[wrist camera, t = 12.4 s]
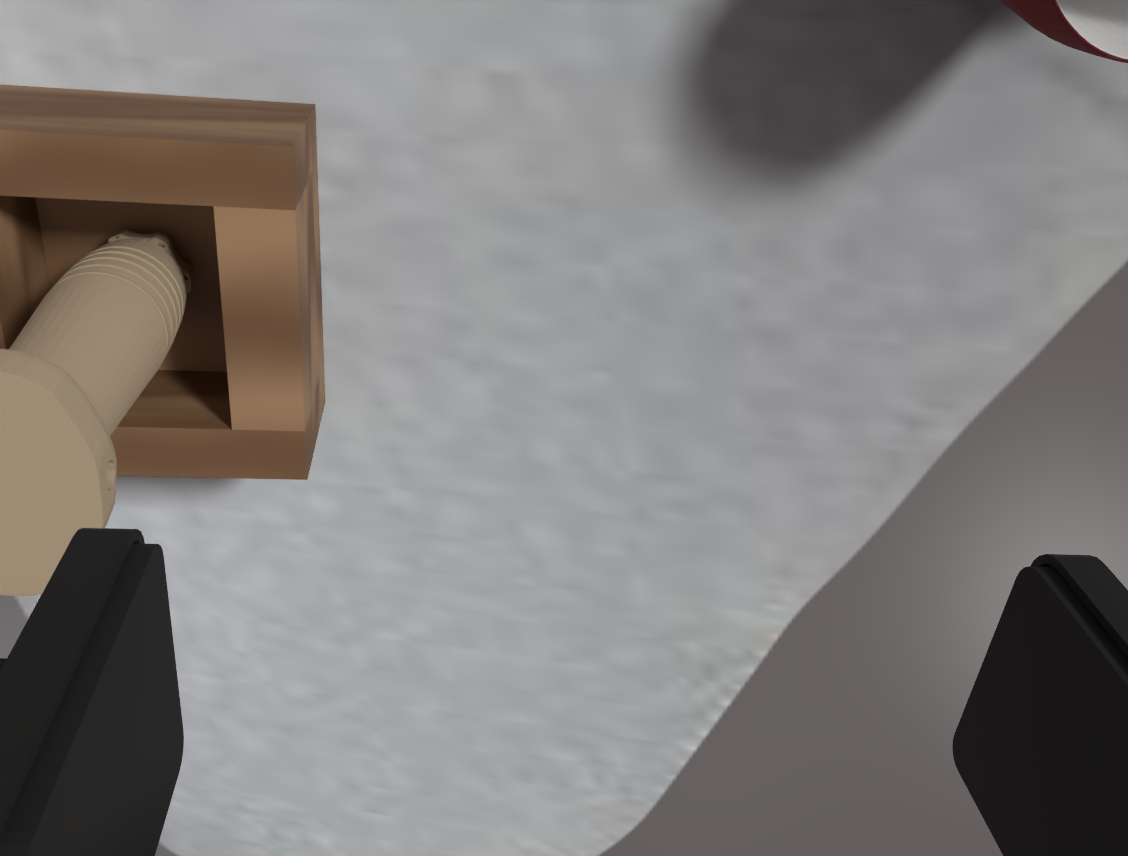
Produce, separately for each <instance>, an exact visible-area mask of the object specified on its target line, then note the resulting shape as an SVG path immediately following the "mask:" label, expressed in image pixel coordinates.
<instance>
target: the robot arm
mask: <svg viewBox="0 0 1128 856" xmlns="http://www.w3.org/2000/svg"><path fill="white" fill-rule="evenodd" d="M183 741H184V736H183V724H182V716H181V707H180V698H179V689H178V680H177V671H176V662H175V653H174V645H173V636H172V627H171V618H170V609H169V600H168V591H167V582H166V574H165V565H164V556H163V551H162V548H161V546H160V545H159V544H145V543H144V537H143V535H142V533H141V531H139V530H138V529H106V528H81V529H79V530H77V532H76V533H75V534H74V536H73V537H72V539H71V541H70V543H69V545H68V547H67V549H66V550H65V552H64V554H63V556H62V558H61V560H60V562H59V563H58V565H57V567H56V569H55V571H54V573H53V575H52V576H51V578H50V580H49V582H48V584H47V586H46V588H45V589H44V591H43V593H42V595H41V597H40V599H39V601H38V602H37V604H36V606H35V608H34V610H33V612H32V613H31V615H30V617H29V619H28V621H27V623H26V625H25V627H24V628H23V630H22V632H21V634H20V636H19V638H18V640H17V641H16V643H15V645H14V647H13V649H12V651H11V653H10V654H9V656H8V658H7V659H0V856H155V853H156V849H157V846H158V843H159V839H160V836H161V832H162V829H163V825H164V822H165V819H166V815H167V812H168V808H169V805H170V801H171V798H172V795H173V791H174V788H175V784H176V781H177V778H178V774H179V770H180V766H181V761H182V755H183ZM953 756H954V760H955V764H956V767H957V769H958V771H959V773H960V775H961V777H962V779H963V781H964V782H965V785H966V786H967V788H968V790H969V792H970V793H971V796H972V798H973V800H974V802H975V803H976V805H977V807H978V809H979V811H980V813H981V815H982V816H983V818H984V820H985V822H986V824H987V826H988V828H989V829H990V832H991V833H992V835H993V837H994V839H995V841H996V843H997V844H998V847H999V848H1000V850H1001V852H1002V854H1003V856H1128V590H1127V589H1126V588H1125V587H1124V586H1123V584H1122V583H1121V582H1120V581H1119V580H1118V579H1117V578H1116V576H1115V575H1114V574H1113V573H1112V572H1111V571H1110V570H1109V569H1108V567H1107V566H1106V565H1105V564H1104V563H1103V562H1102V561H1101V560H1099V559H1098V558H1097V557H1093V556H1090V555H1055V554H1045V555H1041V556H1039V557H1037V558H1036V559H1035V560H1034V561H1033V563H1032V564H1031V566H1030V567H1025V568H1023V569H1022V570H1021V571H1020V572H1019V574H1018V576H1017V577H1016V580H1015V582H1014V585H1013V588H1012V590H1011V593H1010V595H1009V598H1008V600H1007V603H1006V605H1005V608H1004V610H1003V613H1002V615H1001V618H1000V621H999V623H998V625H997V628H996V631H995V633H994V636H993V638H992V641H991V643H990V646H989V648H988V651H987V654H986V656H985V659H984V661H983V663H982V666H981V669H980V671H979V674H978V676H977V679H976V681H975V684H974V686H973V689H972V691H971V694H970V697H969V699H968V701H967V704H966V707H965V709H964V712H963V714H962V717H961V719H960V722H959V724H958V727H957V729H956V732H955V735H954V739H953Z"/></svg>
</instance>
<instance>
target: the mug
mask: <svg viewBox="0 0 1128 856" xmlns="http://www.w3.org/2000/svg"><path fill="white" fill-rule="evenodd" d="M1001 1H1002V2H1003V3H1004V4H1005V5H1007V6H1008V7H1009V8H1010V9H1011V10H1013V11H1014V12H1015V13H1016V14H1017V15H1019V16H1020V17H1021V18H1022V19H1024V20H1025V21H1026V22H1027V23H1028V24H1030V25H1031V26H1032V27H1034V28H1035V29H1036V30H1038V31H1040V32H1041V33H1043V34H1044V35H1046V36H1048V37H1049V38H1051V39H1053V40H1055V41H1057V42H1060V43H1062V44H1064V45H1066V46H1068V47H1071V48H1074V49H1077V50H1080V51H1084V52H1087V53H1090V54H1093V55H1096V56H1100V57H1104V58H1108V59H1112V60H1115V61H1120V62H1125V63H1128V0H1001Z"/></svg>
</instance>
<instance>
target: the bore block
mask: <svg viewBox="0 0 1128 856" xmlns="http://www.w3.org/2000/svg"><path fill="white" fill-rule="evenodd" d="M126 229H131V230H133V231H134V232H137V233H142V234H152V233H156V232H158V231H161V232H163V233H166V234H167V235H169V236H171V238H172V243H173V245H174V248H175V249H176V251H177V253H178V254H179V255H180V257H181V258H182V259H183V260H184V261H185V262H187V263H189V264H191V266H192V268H193V284H192V287H191V290H190V293H187V299H186V305H185V310H184V314H183V317H182V321H181V323H180V326H179V328H178V331H177V333H176V336H175V338H174V341H173V343H172V345H171V348H170V349H169V351H168V353H167V355H166V357H165V359H164V361H163V362H162V364H161V366H160V368H159V369H158V371H157V372H156V373H155V375H154V376H153V378H152V379H151V380H150V382H149V383H148V384H147V386H146V387H145V388H144V390H143V391H142V393H141V394H140V395H139V397H138V398H137V399H136V401H135V402H134V404H133V405H132V406H131V408H130V409H129V410H128V412H127V413H126V414H125V416H124V417H123V419H122V420H121V422H120V423H119V424H118V426H117V427H116V429H115V430H114V432H113V433H112V435H111V436H110V438H111V440H112V443H113V446H114V450H115V454H116V458H117V475H116V476H151V477H202V478H252V479H303V480H307V478H308V474H309V470H310V465H311V461H312V457H313V452H314V448H315V444H316V439H317V435H318V431H319V426H320V422H321V418H322V413H323V409H324V405H325V385H324V355H323V325H322V295H321V265H320V235H319V205H318V174H317V144H316V114H315V104H299V103H283V102H267V101H251V100H235V99H219V98H203V97H187V96H171V95H155V94H139V93H123V92H107V91H91V90H75V89H59V88H43V87H28V86H12V85H0V349H8V350H9V348H10V347H11V346H12V344H13V343H14V341H15V340H16V338H17V337H18V335H19V334H20V332H21V331H22V329H23V328H24V326H25V325H26V323H27V322H28V320H29V319H30V317H31V316H32V314H33V313H34V311H35V310H36V308H37V307H38V306H39V304H40V303H41V301H42V300H43V298H44V297H45V295H46V294H47V293H48V292H49V291H50V290H51V288H52V287H53V286H54V285H55V284H56V283H57V282H58V281H59V280H60V278H61V277H62V276H63V275H64V274H65V273H66V272H67V271H68V270H69V269H70V268H71V267H73V266H74V265H75V264H76V263H77V262H79V261H80V260H81V259H82V258H84V257H85V256H86V255H87V254H89V253H90V252H92V251H94V250H95V249H97V248H99V247H101V246H103V245H105V244H107V243H108V239H109V238H110V237H112V236H113V235H115V234H116V233H118V232H121V231H123V230H126Z"/></svg>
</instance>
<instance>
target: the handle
mask: <svg viewBox="0 0 1128 856" xmlns="http://www.w3.org/2000/svg"><path fill="white" fill-rule="evenodd" d="M192 284H193V268H192V266H191V264H189V263H187V262H185V261H184V260H183V259H182V258H181V257H180V255H179V254H178V253H177V251H176V249H175V248H174V245H173V243H172V238H171V236H169V235H167V234H166V233H163V232H161V231H158V232H156V233H152V234H142V233H137V232H134V231H133V230H131V229H126V230H123V231H121V232H118V233H116V234H115V235H113V236H112V237H110V238H109V239H108V243H107V244H105V245H103V246H101V247H99V248H97V249H95V250H94V251H92V252H90V253H89V254H87V255H86V256H85V257H84V258H82V259H81V260H80V261H79V262H77V263H76V264H75V265H74V266H73V267H71V268H70V269H69V270H68V271H67V272H66V273H65V274H64V275H63V276H62V277H61V278H60V280H59V281H58V282H57V283H56V284H55V285H54V286H53V287H52V288H51V290H50V291H49V292H48V293H47V294H46V295H45V297H44V298H43V300H42V301H41V303H40V304H39V306H38V307H37V308H36V310H35V311H34V313H33V314H32V316H31V317H30V319H29V320H28V322H27V323H26V325H25V326H24V328H23V329H22V331H21V332H20V334H19V335H18V337H17V338H16V340H15V341H14V343H13V344H12V346H11V347H10V348H9V350H8V349H0V595H10V596H24V595H38V594H42V593H43V591H44V589H45V588H46V586H47V584H48V582H49V580H50V578H51V576H52V575H53V573H54V571H55V569H56V567H57V565H58V563H59V562H60V560H61V558H62V556H63V554H64V552H65V550H66V549H67V547H68V545H69V543H70V541H71V539H72V537H73V536H74V534H75V533H76V532H77V530H79V529H81V528H105V526H106V524H107V522H108V520H109V517H110V514H111V512H112V509H113V506H114V504H115V493H116V475H117V458H116V454H115V450H114V446H113V443H112V440H111V438H110V436H111V435H112V433H113V432H114V430H115V429H116V427H117V426H118V424H119V423H120V422H121V420H122V419H123V417H124V416H125V414H126V413H127V412H128V410H129V409H130V408H131V406H132V405H133V404H134V402H135V401H136V399H137V398H138V397H139V395H140V394H141V393H142V391H143V390H144V388H145V387H146V386H147V384H148V383H149V382H150V380H151V379H152V378H153V376H154V375H155V373H156V372H157V371H158V369H159V368H160V366H161V364H162V362H163V361H164V359H165V357H166V355H167V353H168V351H169V349H170V348H171V345H172V343H173V341H174V338H175V336H176V333H177V331H178V328H179V326H180V323H181V321H182V317H183V314H184V310H185V305H186V299H187V293H190V290H191V287H192Z"/></svg>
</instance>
